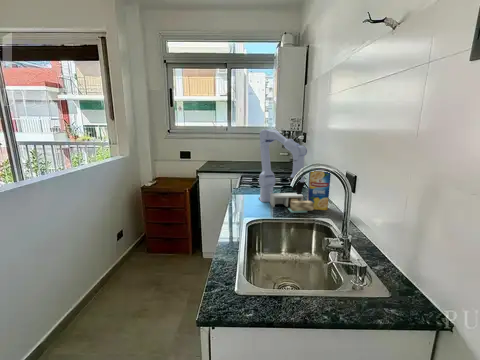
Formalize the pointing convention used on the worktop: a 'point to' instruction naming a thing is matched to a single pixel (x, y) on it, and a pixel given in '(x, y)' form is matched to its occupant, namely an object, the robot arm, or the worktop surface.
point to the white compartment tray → (284, 198)
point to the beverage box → (319, 189)
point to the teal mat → (296, 211)
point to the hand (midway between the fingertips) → (296, 192)
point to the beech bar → (301, 205)
